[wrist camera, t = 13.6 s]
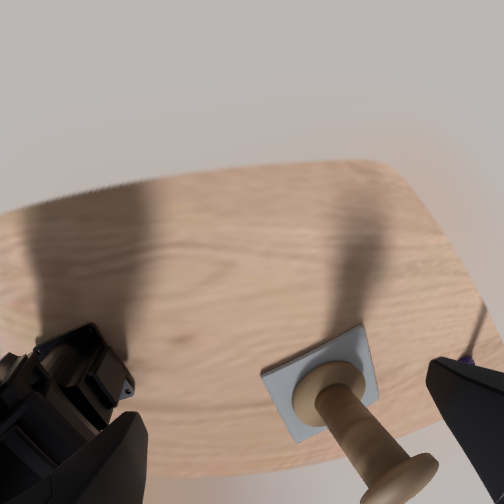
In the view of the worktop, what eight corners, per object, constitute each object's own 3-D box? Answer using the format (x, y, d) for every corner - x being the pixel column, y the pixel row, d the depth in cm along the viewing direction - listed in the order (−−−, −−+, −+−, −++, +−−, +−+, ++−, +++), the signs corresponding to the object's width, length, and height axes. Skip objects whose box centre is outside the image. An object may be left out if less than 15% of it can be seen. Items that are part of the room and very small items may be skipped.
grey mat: (294, 440, 24) (295, 443, 23) (260, 375, 22) (261, 378, 21) (376, 396, 25) (379, 399, 24) (360, 324, 23) (363, 326, 22)
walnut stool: (287, 424, 23) (342, 532, 11) (297, 364, 22) (378, 478, 10) (351, 413, 24) (421, 498, 12) (367, 355, 23) (461, 438, 11)
